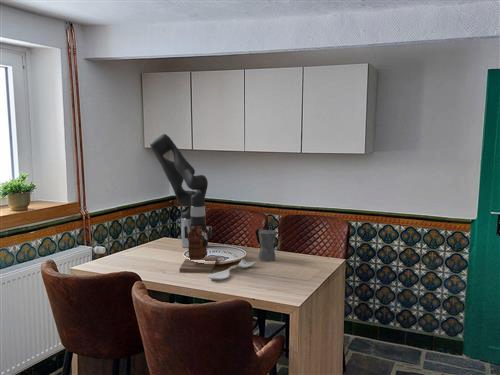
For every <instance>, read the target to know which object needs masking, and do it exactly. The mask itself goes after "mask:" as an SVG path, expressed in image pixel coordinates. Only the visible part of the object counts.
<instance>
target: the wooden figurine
mask: <svg viewBox="0 0 500 375" xmlns="http://www.w3.org/2000/svg"><path fill="white" fill-rule="evenodd" d="M205 233H206V235H207V236H208V234H207V233H208V232H207V229H206V230H205ZM188 241H189V248H187V249H188V250H187V251H188V256H189V258H190V260H200V259H202V258H204V257H205V256H208V250H207V249H208V248H207V246H206V247H205V238H204V236H203V235H202V226H201V225H192V226H191V228H190V231H189V233H188Z"/></svg>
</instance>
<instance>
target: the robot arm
mask: <svg viewBox="0 0 500 375" xmlns="http://www.w3.org/2000/svg"><path fill="white" fill-rule="evenodd" d="M149 145H150V148H151V151H152V152H153V154H154V156H155V158H156V159H157V160H158V162H159V163H160V166H161V167H162V169H163V171H164V174H165V176H166V178H167V180H168V181H169V183H170V185H171V187H172V190H173V193H174V195H175V197H176V200H177V202H178V204H179V205H180V206H182V207H188V210H187V211H183V212H181V213H180V220H181V221H180V223H181V225H180V226H181V228H180V229H181V233H180V235H181V247H182V248H187V249H188V248H189V241H188V233H189V231H190V228H191V226H192V225H201V226H202V235H203V236H204V238H205V247H206V248H207V246H208V245H209V239H211V238H212V236H213V235H212V234H213V232H212V231H213V227H212V226H211V225H210V226H207V224H206V214H207V213H206V204H205V201H206V200H205V198H206V195H207V190H208V186H209V184H208V183H209V182H208V179H207V177H206V175H202V174H198V175H195V173H196V170H195V168H194V167H193V166H192V165H191V164H190V163H189V162H188V160H187V159H186V158H185V157H184V155H183V154H182V152H181V151H180V149H179V148H178V146H176V144H175V142H174V141H173V140H172V138H171V137H170V136H168V135H167V134H165V133H163V134H161V135H159V136H158V137H156V138H155V139H153V140H152V141H151V142H150V144H149ZM170 151H172V154H173V160H170V159H167V158H166V157H164V155H165V154H167V153H168V152H170ZM183 182H185V184H186V186H187V188H188V189H190V190H185V189H184V188H183V186H182V185H183ZM205 230H206V231H208V234H207V235H206V233H205Z"/></svg>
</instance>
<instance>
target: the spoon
mask: <svg viewBox="0 0 500 375" xmlns="http://www.w3.org/2000/svg"><path fill="white" fill-rule="evenodd" d="M257 263H258V261H256V260H255V261H251V262H250V261H248V260H246V259H244V258H242V259H241V260H240V262H239V263H238V264H233V265H232V266H229V267H228V268H227V269H225V270H222V271H218V272H215V273H211V274H209V275H207V277H208V278H209V279H211V280H215V281H216V280H219V281H220V280H224V279H227V278H229V277H230V276H231V274H230V271H231V270H234V269H236V268H241V269H247V268H249V267H251V266H254V265H256V264H257Z"/></svg>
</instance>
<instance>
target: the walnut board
mask: <svg viewBox="0 0 500 375" xmlns="http://www.w3.org/2000/svg"><path fill="white" fill-rule="evenodd" d="M187 257H188V258H189V255H188V256H186V258H187ZM186 258H185V259H184V261H183V262H182V264H181V265H180V267H179V273H193V274H194V273H196V274H199V273H200V274H201V273H203V274H204V273H205V274H209V273H211V274H213V271H214V268H215V266H216V264H215V265H214V264H204V263H198V262H194V261H191V260H189V259H186ZM200 260H205V261H216V260H217V261H218V256H212V255H211V256H210V255H209V256H208V255H207V256H205V257H204V258H202V259H200Z"/></svg>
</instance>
